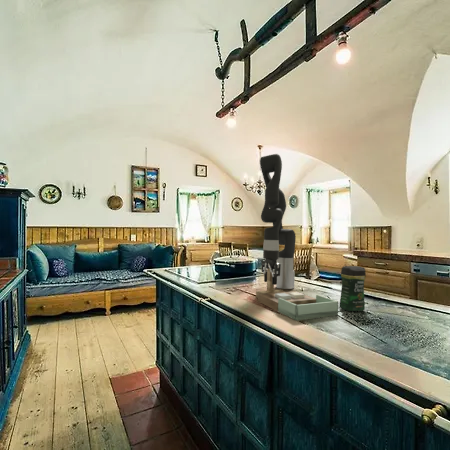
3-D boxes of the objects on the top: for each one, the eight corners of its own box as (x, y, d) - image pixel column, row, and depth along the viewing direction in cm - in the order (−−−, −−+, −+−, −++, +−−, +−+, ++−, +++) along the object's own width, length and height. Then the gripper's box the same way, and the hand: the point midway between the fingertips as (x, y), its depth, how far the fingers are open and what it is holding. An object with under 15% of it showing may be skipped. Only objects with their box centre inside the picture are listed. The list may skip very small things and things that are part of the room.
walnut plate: (294, 298, 142) (294, 291, 142) (316, 307, 128) (317, 299, 128) (258, 301, 135) (258, 294, 135) (277, 311, 120) (277, 302, 120)
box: (317, 307, 127) (317, 294, 127) (338, 315, 116) (338, 301, 116) (278, 311, 120) (278, 298, 120) (296, 320, 109) (296, 305, 109)
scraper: (280, 295, 148) (281, 267, 148) (283, 297, 145) (284, 268, 145) (255, 297, 143) (256, 268, 143) (259, 299, 140) (259, 269, 140)
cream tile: (297, 295, 134) (297, 292, 134) (304, 297, 129) (304, 294, 129) (288, 296, 132) (288, 292, 132) (294, 298, 127) (295, 295, 127)
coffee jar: (349, 313, 120) (350, 267, 120) (336, 307, 127) (337, 265, 127) (368, 311, 123) (369, 267, 123) (354, 306, 130) (355, 264, 130)
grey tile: (284, 296, 131) (284, 293, 131) (291, 299, 127) (291, 295, 127) (274, 297, 129) (274, 293, 129) (281, 299, 125) (281, 296, 125)
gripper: (286, 250, 139) (285, 285, 139) (269, 248, 152) (269, 280, 152) (272, 250, 136) (271, 286, 136) (257, 248, 149) (256, 280, 149)
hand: (270, 283), depth 144 cm, fingers open, 7 cm apart
